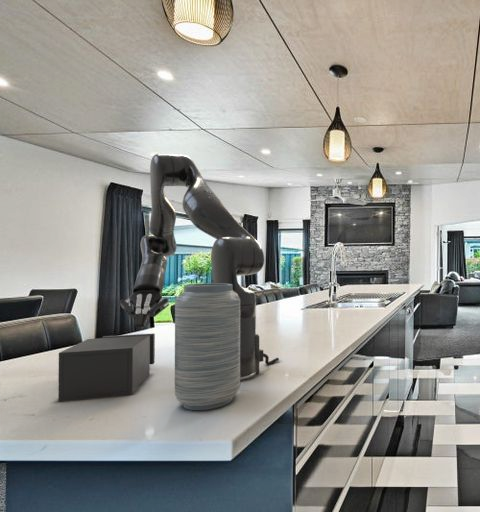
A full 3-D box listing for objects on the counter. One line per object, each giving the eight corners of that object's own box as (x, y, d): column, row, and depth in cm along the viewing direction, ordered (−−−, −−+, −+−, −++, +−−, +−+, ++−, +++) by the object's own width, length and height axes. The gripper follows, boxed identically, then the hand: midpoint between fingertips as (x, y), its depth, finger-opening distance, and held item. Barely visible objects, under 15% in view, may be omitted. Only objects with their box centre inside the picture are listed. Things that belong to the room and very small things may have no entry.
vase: (210, 417, 68) (210, 286, 68) (159, 409, 72) (160, 285, 72) (252, 395, 79) (252, 283, 79) (206, 389, 83) (207, 282, 83)
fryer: (87, 380, 90) (87, 338, 90) (149, 375, 94) (149, 335, 94) (58, 401, 76) (58, 352, 76) (132, 394, 80) (132, 347, 80)
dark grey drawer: (109, 363, 102) (109, 333, 102) (158, 359, 105) (158, 330, 106) (81, 382, 85) (81, 347, 85) (141, 377, 89) (141, 343, 89)
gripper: (122, 273, 115) (108, 320, 104) (172, 273, 120) (163, 318, 108) (127, 290, 120) (114, 336, 109) (175, 289, 125) (167, 333, 113)
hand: (139, 327), depth 108 cm, fingers closed
